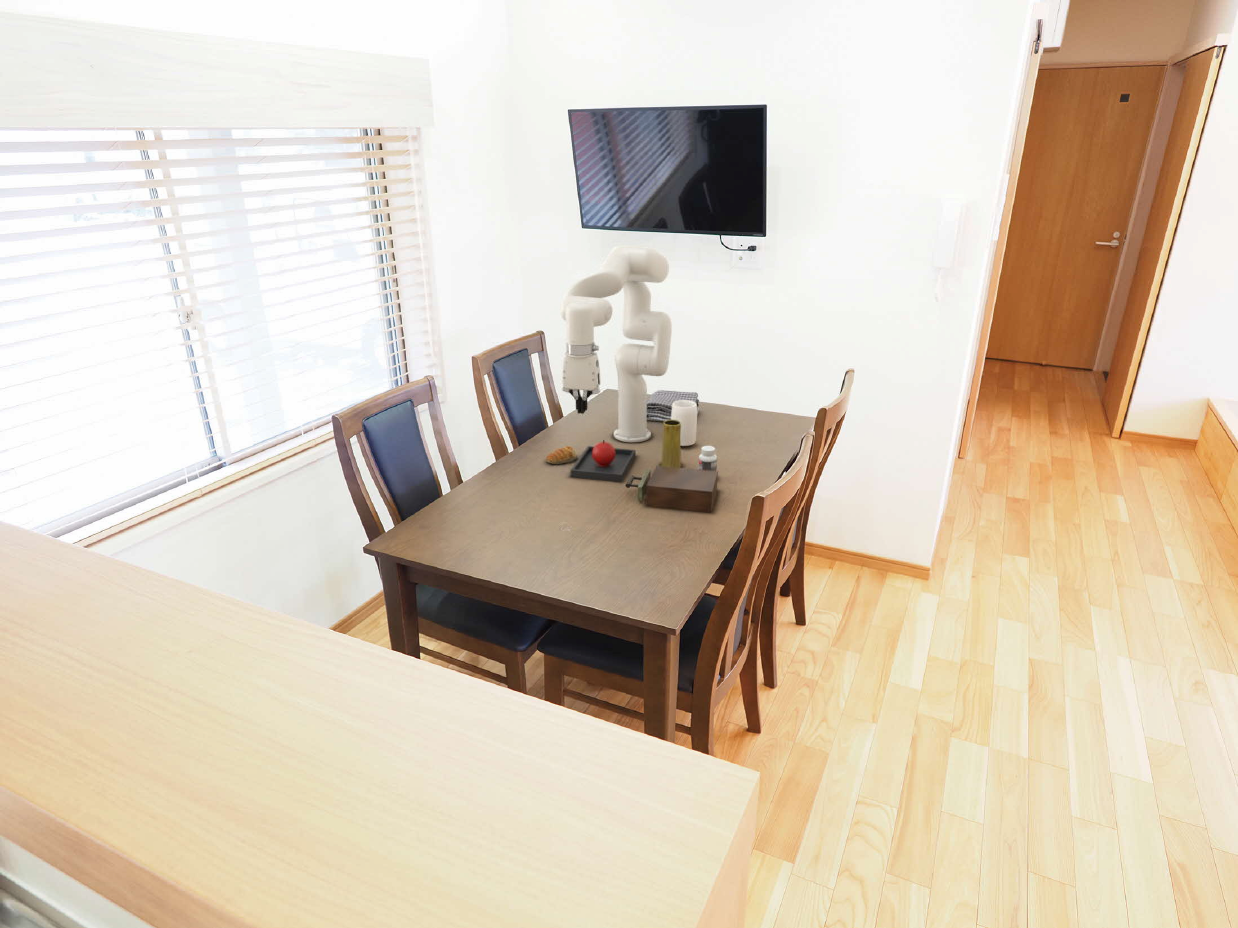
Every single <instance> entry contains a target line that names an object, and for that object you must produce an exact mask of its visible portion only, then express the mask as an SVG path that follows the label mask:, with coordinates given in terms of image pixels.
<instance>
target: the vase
mask: <svg viewBox="0 0 1238 928" xmlns="http://www.w3.org/2000/svg"><path fill="white" fill-rule="evenodd" d="M662 425H663V426H662V427H663V428H662V451H661V463H660V466H663V467H675V468H682V455H681V454H682V453H681V452H682V451H681V445H680V435H681V422H680V421H678V420H666V421H663V424H662Z"/></svg>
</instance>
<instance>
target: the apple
mask: <svg viewBox="0 0 1238 928" xmlns="http://www.w3.org/2000/svg"><path fill="white" fill-rule="evenodd" d="M614 448H615V446H613V445H612V444H611V443H610V442H608V441H605V439H603V440H602V441H600V442H598V443H596V444H595V445H594V448H593V450H592V457H593V459H594V461H595V462H596V463H598V465H599V466H602V467H606V466H609V465H610V463H612V462H613V460H614V459H615V455H616V452H615V449H614Z"/></svg>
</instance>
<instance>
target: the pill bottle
mask: <svg viewBox="0 0 1238 928" xmlns="http://www.w3.org/2000/svg"><path fill="white" fill-rule="evenodd" d="M700 452H701V453H700V454H699V455H698V467H697V470H709V471H718V469H717V467H718V456H717V454H716V447H714V446H712V445H704V446H701V451H700Z"/></svg>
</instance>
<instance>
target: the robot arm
mask: <svg viewBox="0 0 1238 928" xmlns="http://www.w3.org/2000/svg"><path fill="white" fill-rule="evenodd" d="M669 271H670V265H669V262H668V259H667V257H666V256H665V255H664V254H663V253H661V252H659V251H658V250H656V249H654V248H653V247H650V246H646V245H645V246H643V245H624V244H623V245H617V246H614V247H613V248H612V249H611V250H610V252H609V253H608V254H607V256H606V257H605V260H604V261H603V263H602V264H601V266H600V267H599V269H598V270H597V272H594V273H592V274H589V275H588V276H586V277H583V278H582V279H580V280H578V281H576V282H574V283H573V284H572V285H571V286H570V288H569V289H568V291H567V292H566V294H565V295H564V297H563V299H562V301H561V305H560V315H561V318H562V319H563V320H564V321H565V342H566V343H565V344H566V351H565V352H564V354H563V355H564V356H563V360H562V372H561V384H562V388H561V389H562V392H565V393H567V394H568V393H569V394H570V395H571V396H572V397H573V399H574V401H575V410H576V411H577V414H578V415H579V414H582V415H584V413H586V411H587V410H588V399H589V398H590V397H591V396H593V395H598V394H600V392H601V388H600V385H601V368H600V360H599V355H598V353H597V352H596V351H599V350H600V346H599V345H597V344H595V333H594V332H595V330H594V328H596V327H601V326H605V325H606V324H607V323H609V322H610V320H611V319H612V315H613V305H612V303H611V302H610V301H609V300H607V299H605V298H607V297H612V296H615V295H617V294H618V293H620V292H621V291H622V290H623V294H624V295H623V296H624V301H623V313H622V327H621V329H622V334H623V336H624V338H626V339H630V340H634V341H645V342H653V345H647V344H639V343H624V344H620V345H619V346H618V347H617V349H616V350H615V353H614V363H615V369H616V375H617V428H616V429H614V431H613V438H614V439H616V440H617V441H620V442H624V443H641V442H645V441H647V440H649V439H650V438H651V437H652V432H651V431H650V429H648V428H647V426H648V425H647V424H648V423H647V421H648V420H647V401H648V386H647V383H646V380H645V378H644V377H643V376H649V377H650V376H651V377H663V376H664V375H666V373H667V372H668V369H669V363H670V353H671V344H672V343H671V342H672V331H673V330H672V329H673V327H672V326H673V324H672V320H671V319H672V318H671V317H670V315H669V314H668V313H666V312H663V311H656V310H651V306H652V305H651V304H652V293H651V291H650V289H649V286H648V285H647V283H656V284H660V283H663V282H665V280H666V279H667V277H668V275H669ZM581 391H582V395H581Z"/></svg>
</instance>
